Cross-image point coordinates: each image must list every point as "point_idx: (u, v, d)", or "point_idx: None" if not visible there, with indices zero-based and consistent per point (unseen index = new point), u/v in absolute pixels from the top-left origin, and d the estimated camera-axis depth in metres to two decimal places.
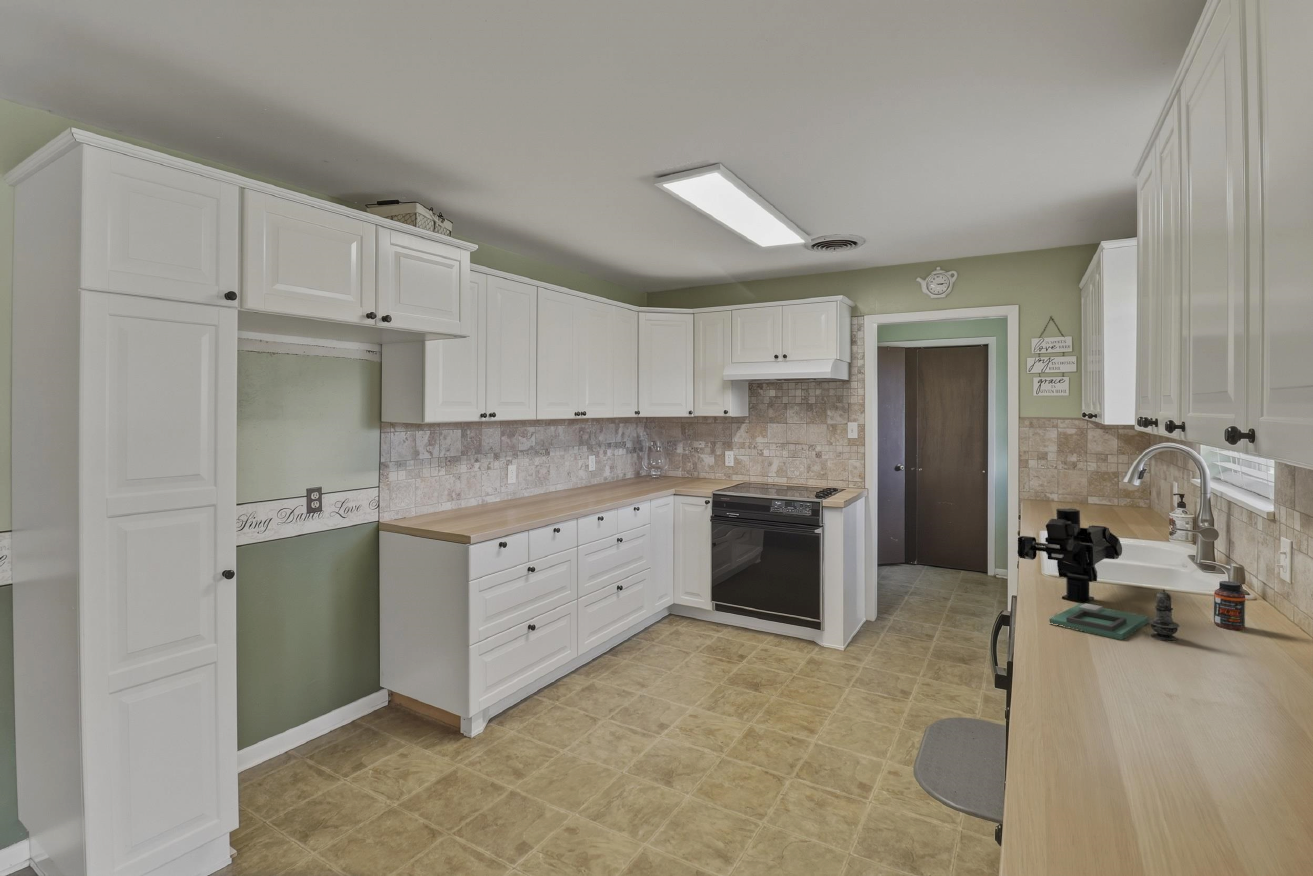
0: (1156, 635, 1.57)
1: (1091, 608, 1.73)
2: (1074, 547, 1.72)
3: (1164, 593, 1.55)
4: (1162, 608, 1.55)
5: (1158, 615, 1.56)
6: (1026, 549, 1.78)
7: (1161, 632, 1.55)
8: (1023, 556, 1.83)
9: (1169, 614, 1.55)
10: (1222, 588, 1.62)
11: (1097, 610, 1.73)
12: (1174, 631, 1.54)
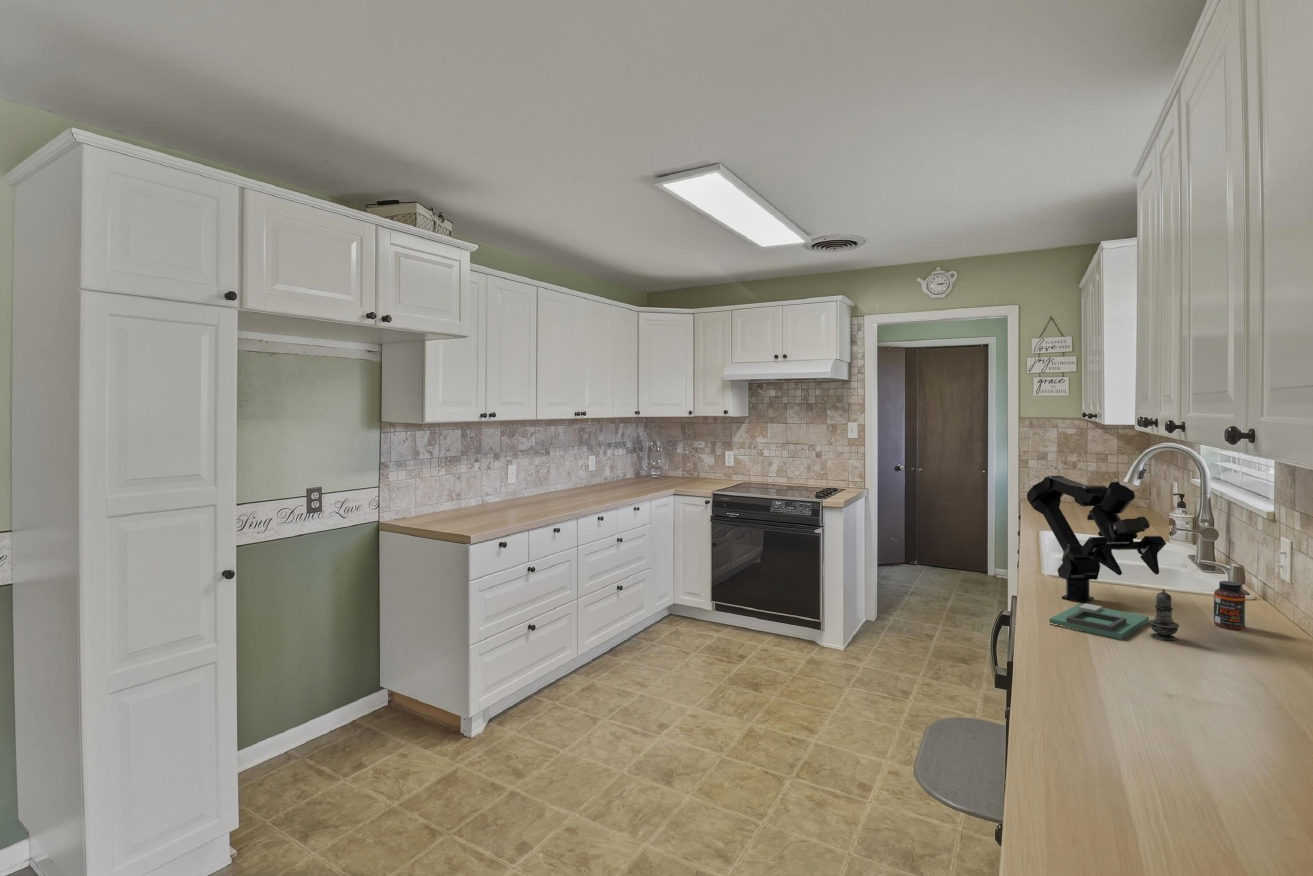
0: (1156, 635, 1.57)
1: (1091, 608, 1.73)
2: (1153, 549, 1.66)
3: (1164, 593, 1.55)
4: (1162, 608, 1.55)
5: (1158, 615, 1.56)
6: (1116, 564, 1.65)
7: (1161, 632, 1.55)
8: (1093, 558, 1.70)
9: (1169, 614, 1.55)
10: (1222, 588, 1.62)
11: (1097, 610, 1.73)
12: (1174, 631, 1.54)
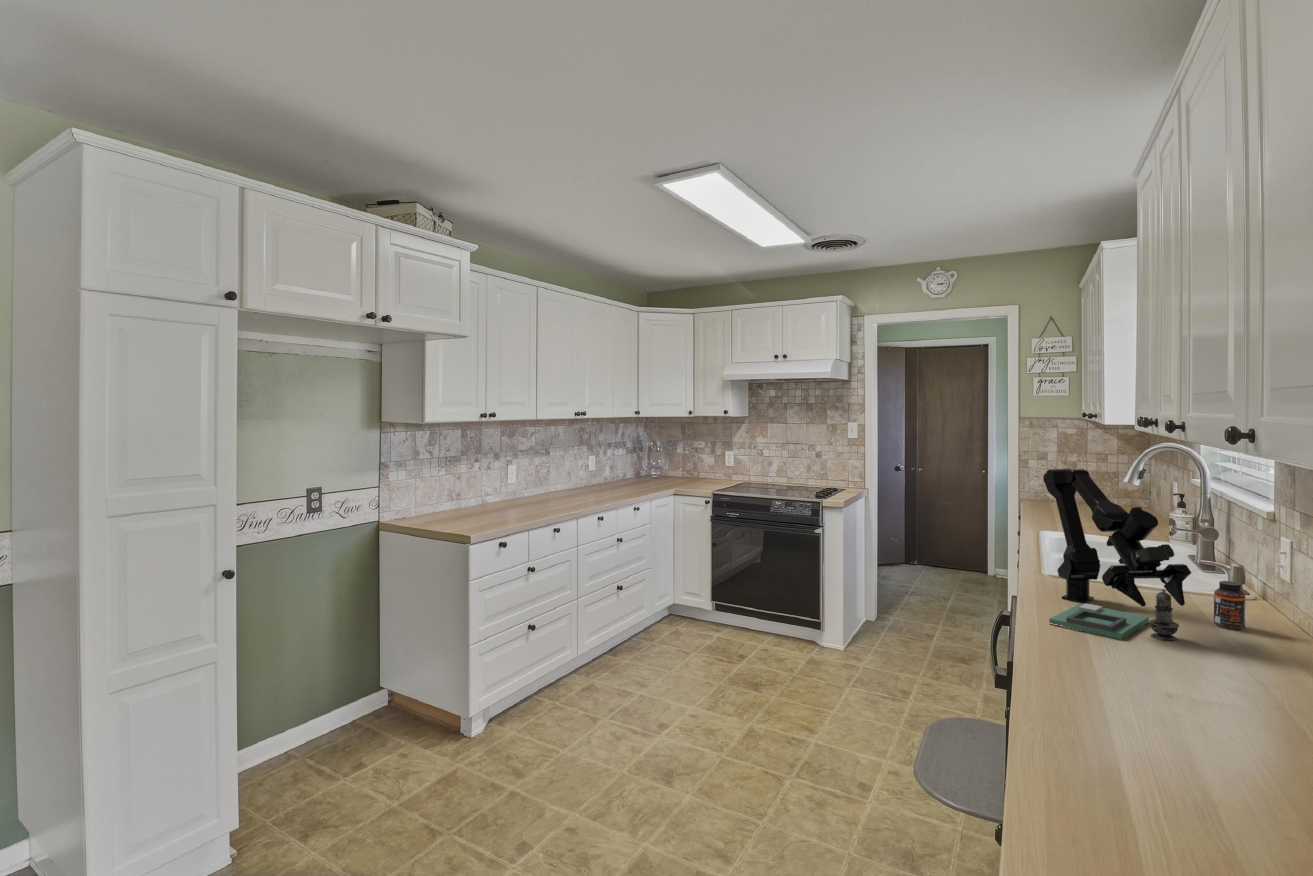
0: (1156, 635, 1.57)
1: (1091, 608, 1.73)
2: (1178, 578, 1.58)
3: (1164, 593, 1.55)
4: (1162, 608, 1.55)
5: (1158, 615, 1.56)
6: (1139, 595, 1.57)
7: (1161, 632, 1.55)
8: (1114, 587, 1.62)
9: (1169, 614, 1.55)
10: (1222, 588, 1.62)
11: (1097, 610, 1.73)
12: (1174, 631, 1.54)
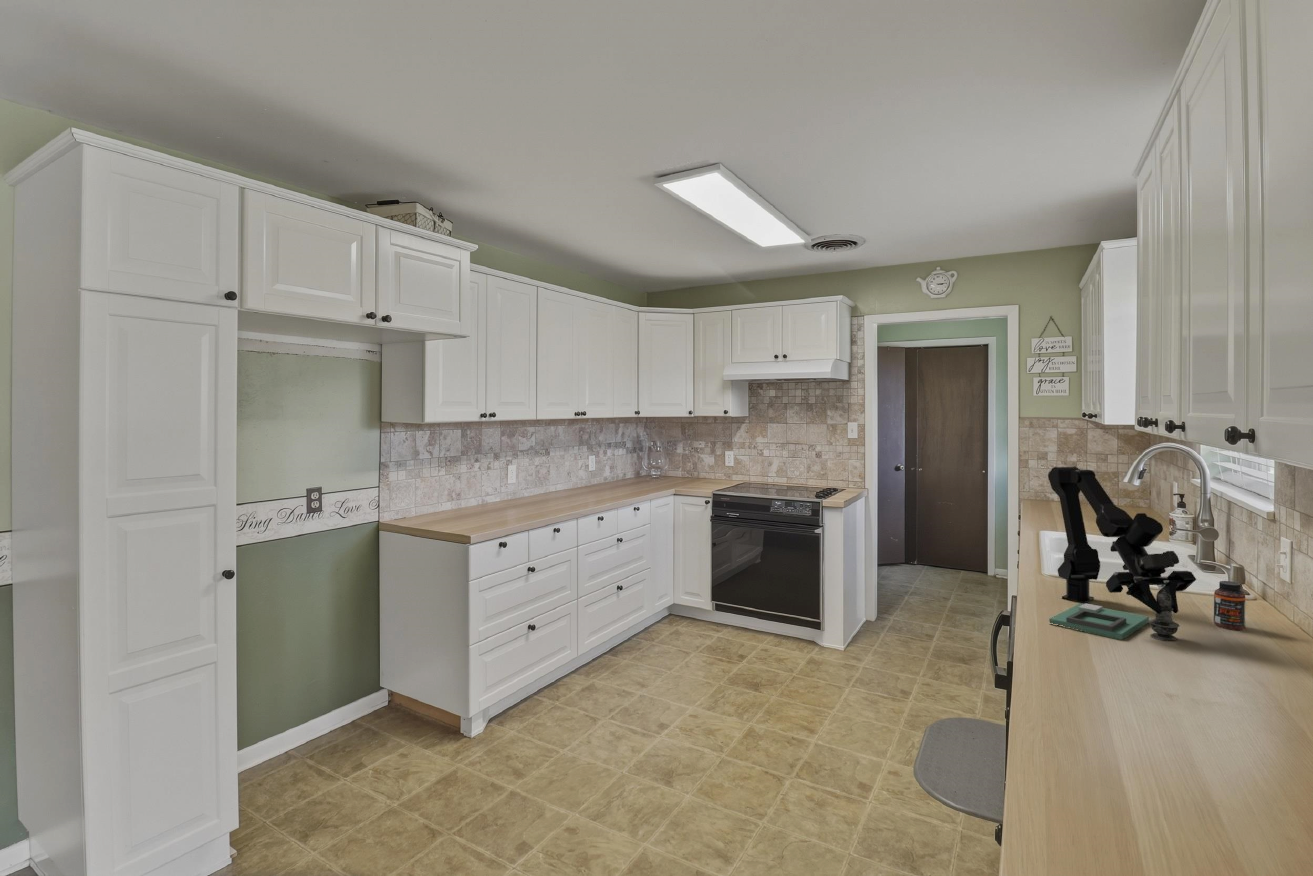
0: (1156, 635, 1.57)
1: (1091, 608, 1.73)
2: (1171, 586, 1.57)
3: (1164, 593, 1.55)
4: (1162, 608, 1.55)
5: (1158, 615, 1.56)
6: (1155, 602, 1.56)
7: (1161, 632, 1.55)
8: (1129, 593, 1.61)
9: (1169, 614, 1.55)
10: (1222, 588, 1.62)
11: (1097, 610, 1.73)
12: (1174, 631, 1.54)
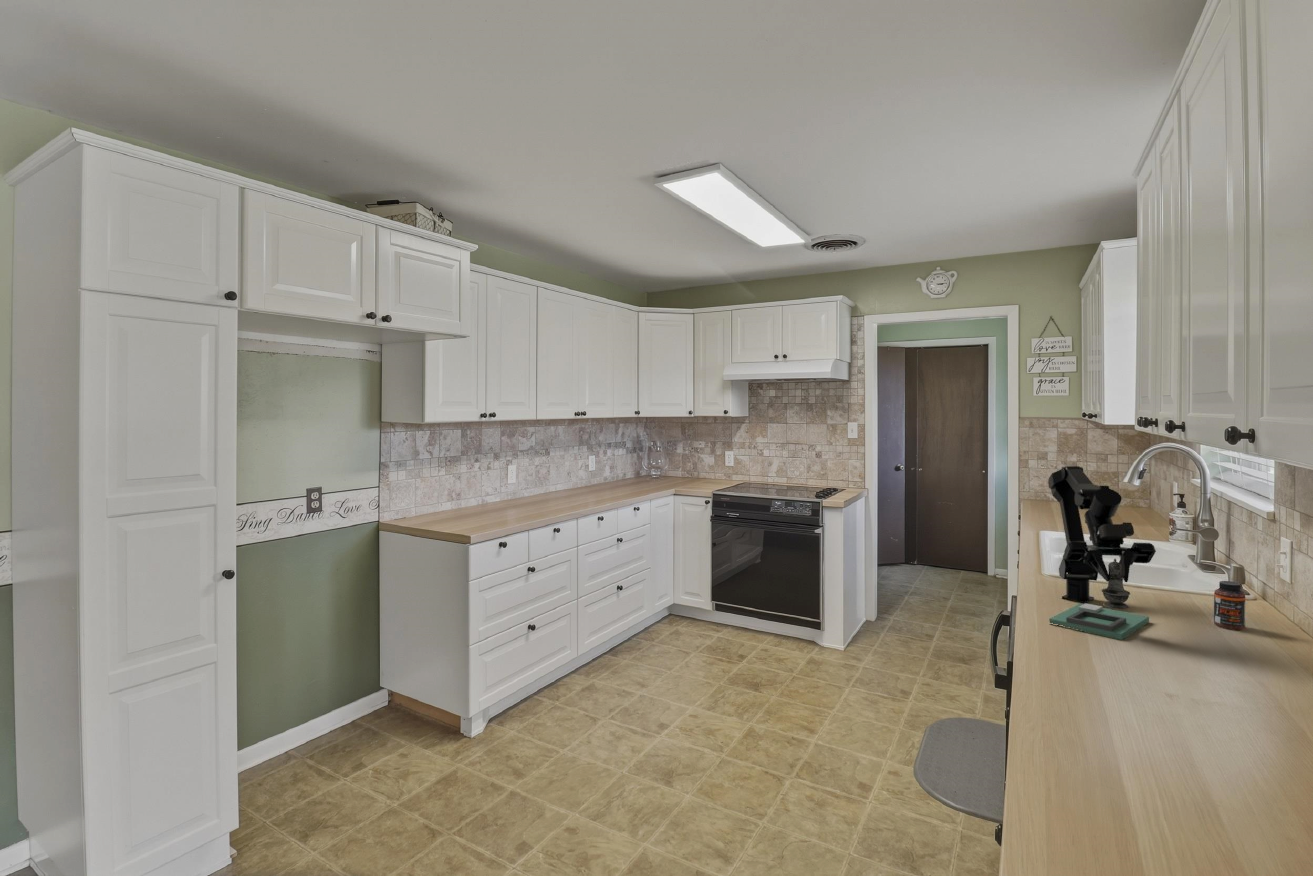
0: (1108, 603, 1.62)
1: (1091, 608, 1.73)
2: (1126, 556, 1.61)
3: (1115, 562, 1.60)
4: (1111, 576, 1.60)
5: (1109, 584, 1.61)
6: (1105, 570, 1.61)
7: (1110, 599, 1.60)
8: (1086, 562, 1.67)
9: (1118, 583, 1.60)
10: (1222, 588, 1.62)
11: (1097, 610, 1.73)
12: (1122, 599, 1.59)
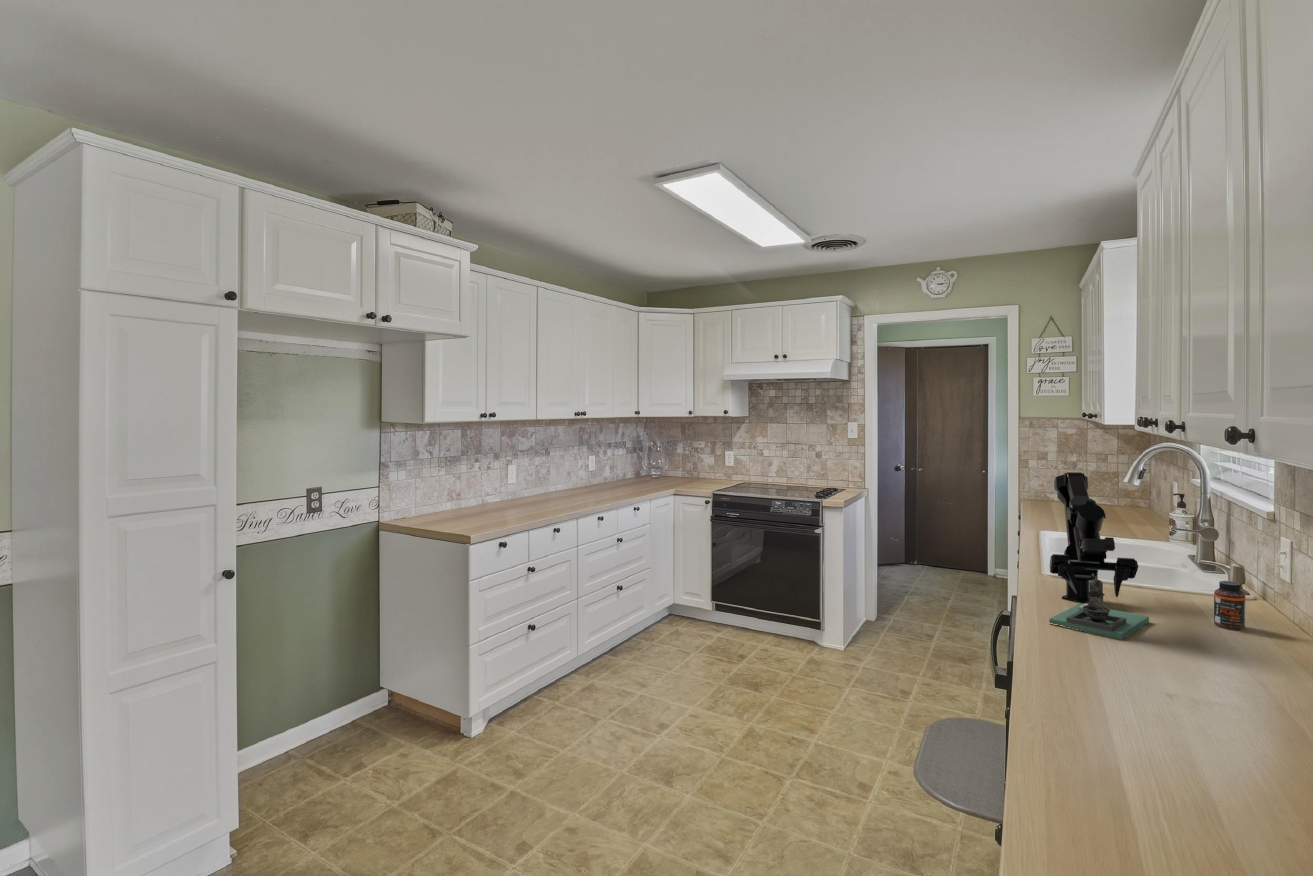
0: (1089, 619, 1.65)
1: None
2: (1119, 571, 1.63)
3: (1095, 580, 1.64)
4: (1091, 593, 1.64)
5: (1089, 600, 1.65)
6: (1074, 583, 1.65)
7: (1089, 616, 1.64)
8: (1060, 575, 1.71)
9: (1098, 600, 1.63)
10: (1222, 588, 1.62)
11: None
12: (1101, 616, 1.62)
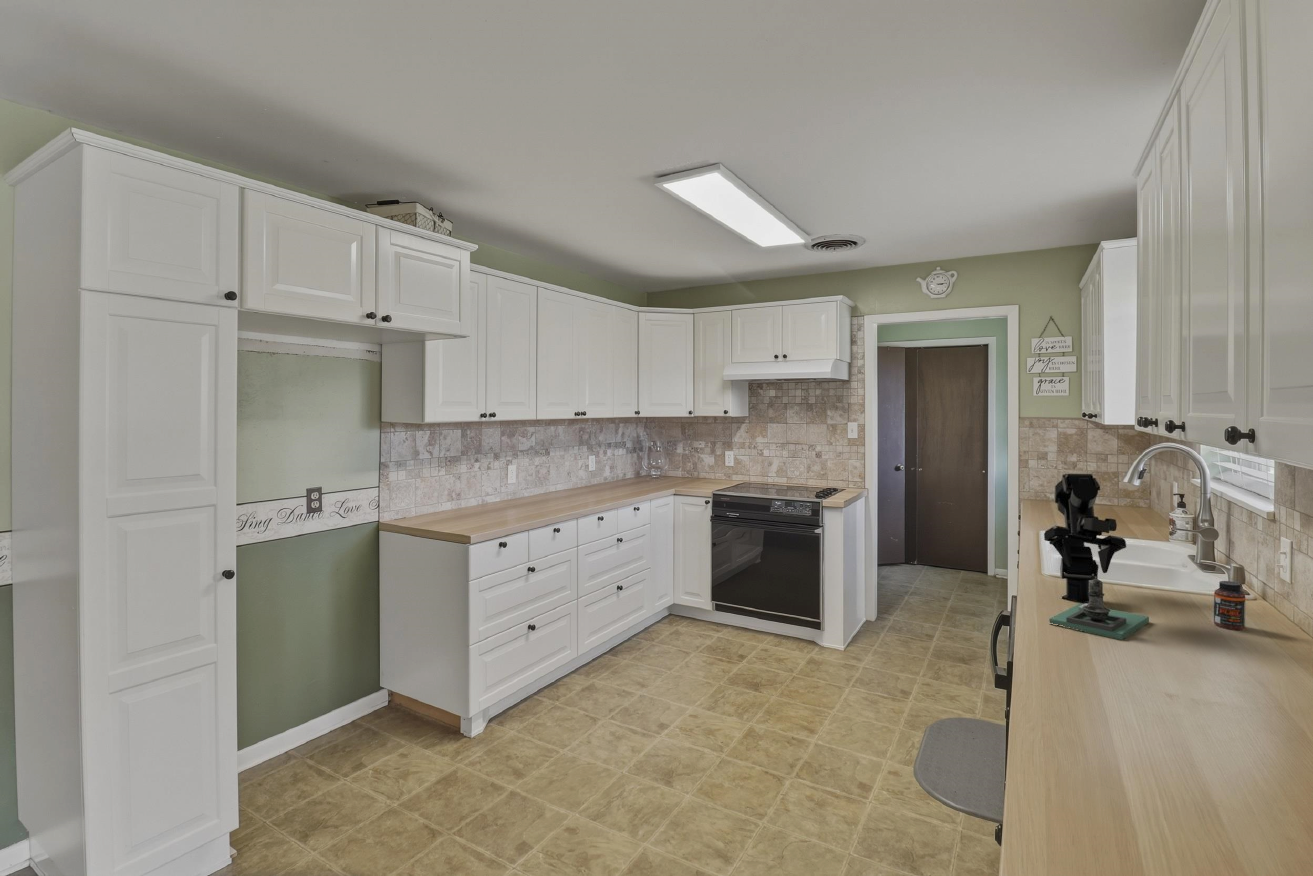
0: (1089, 619, 1.65)
1: None
2: (1111, 550, 1.72)
3: (1095, 580, 1.64)
4: (1091, 593, 1.64)
5: (1089, 600, 1.65)
6: (1069, 556, 1.73)
7: (1089, 616, 1.64)
8: (1051, 543, 1.78)
9: (1098, 600, 1.63)
10: (1222, 588, 1.62)
11: None
12: (1101, 616, 1.62)
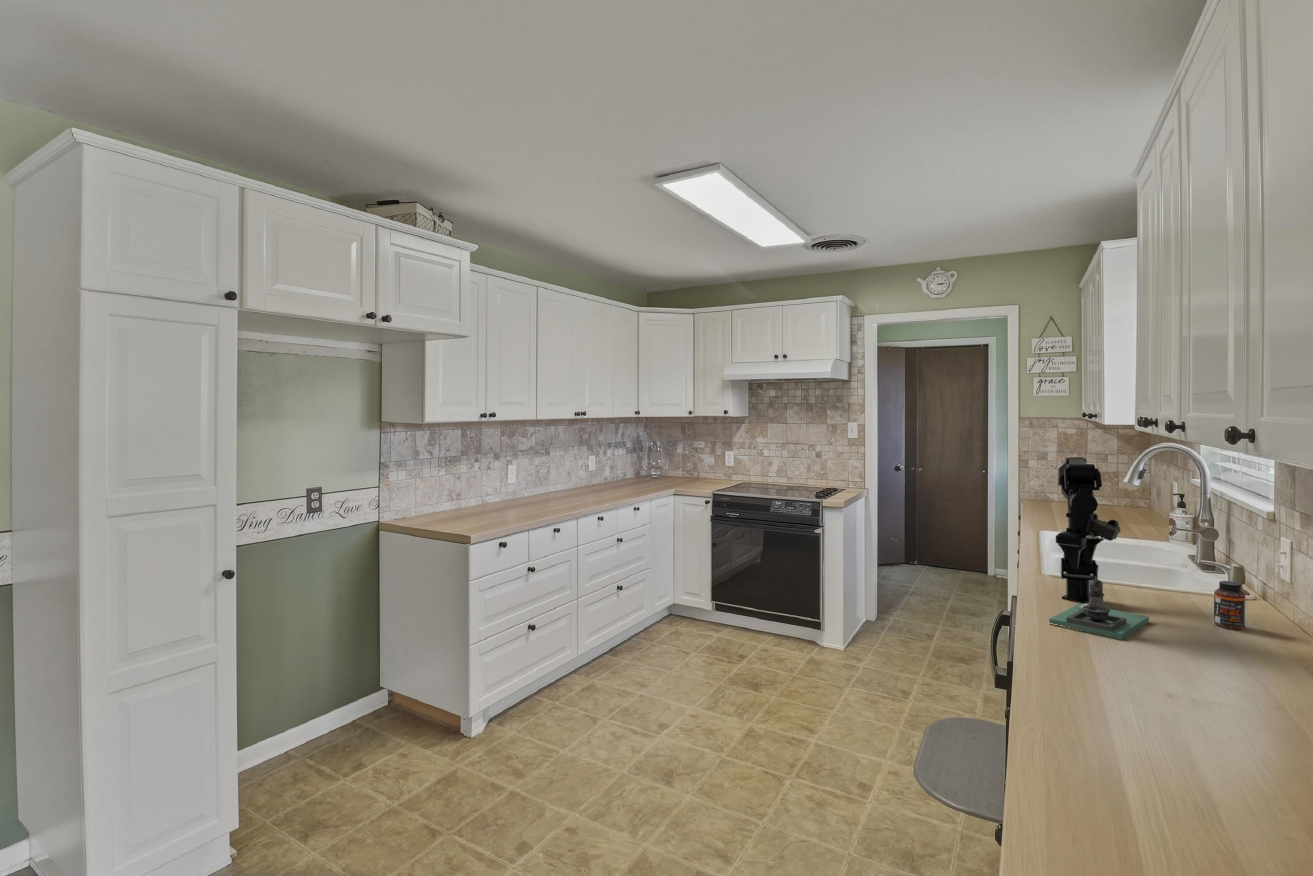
0: (1089, 619, 1.65)
1: None
2: (1098, 543, 1.77)
3: (1095, 580, 1.64)
4: (1091, 593, 1.64)
5: (1089, 600, 1.65)
6: (1078, 561, 1.72)
7: (1089, 616, 1.64)
8: None
9: (1098, 600, 1.63)
10: (1222, 588, 1.62)
11: None
12: (1101, 616, 1.62)
